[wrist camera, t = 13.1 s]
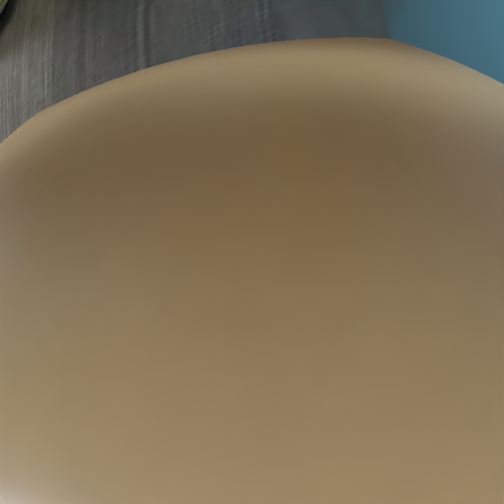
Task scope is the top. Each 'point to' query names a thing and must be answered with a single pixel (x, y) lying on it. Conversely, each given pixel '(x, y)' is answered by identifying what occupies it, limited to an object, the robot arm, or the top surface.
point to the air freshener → (2, 5)
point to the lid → (257, 283)
